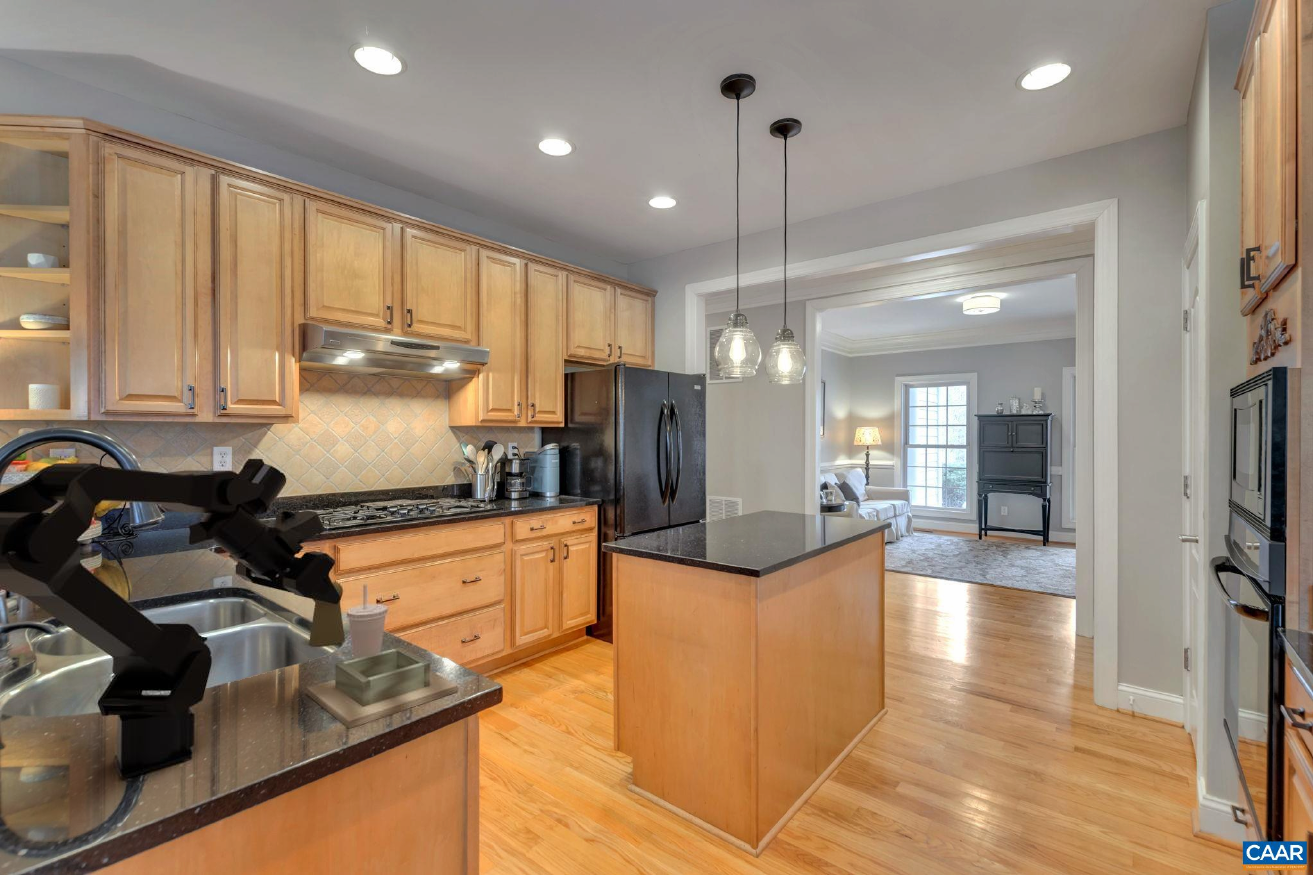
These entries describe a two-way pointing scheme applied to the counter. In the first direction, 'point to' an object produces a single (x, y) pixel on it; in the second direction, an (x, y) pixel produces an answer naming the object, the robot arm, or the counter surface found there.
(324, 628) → the cork
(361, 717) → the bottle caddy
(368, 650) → the smoothie
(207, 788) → the counter surface
